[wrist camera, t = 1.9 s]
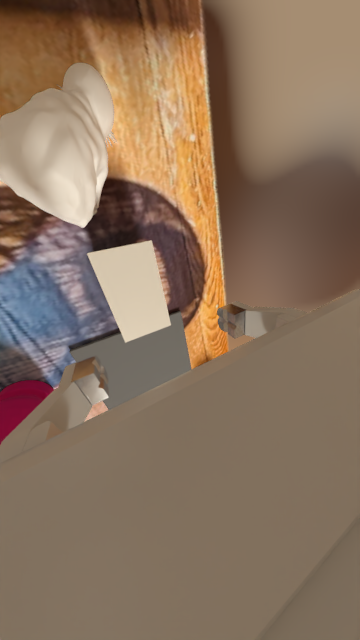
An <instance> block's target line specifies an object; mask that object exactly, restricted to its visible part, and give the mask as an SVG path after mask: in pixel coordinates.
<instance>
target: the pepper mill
mask: <svg viewBox="0 0 360 640" xmlns="http://www.w3.org/2000/svg"><path fill="white" fill-rule="evenodd" d="M52 391H54V390H53V388H52V387H51V386H50V385H49V384H46V383H44V382H41V381H36V380H26V381H19V382H16V383H13V384H11V385H9V386H7V387H6V388H4V389H3V390H2V391H1V392H0V445H1V443H2V441H3V440H4V439H5V438H6V437H7V436H8V435H9V434H10V433H11V432H12V431H13V430H14V429H15V428H16V427H17V426H18V425H19V424H20V423H21V422H22V421H23V420H24V419H25V418H26V417H27V416H28V415H29V414H30V413H31V412H32V411H33V410H34V409H35V408H36V407H37V406H38V405H39V404H40V403H41V402H42V401H43V400H44V399H45V398H46V397H47V396H48V395H49V394H50V393H51V392H52Z"/></svg>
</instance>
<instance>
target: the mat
mask: <svg viewBox="0 0 360 640" xmlns="http://www.w3.org/2000/svg"><path fill="white" fill-rule="evenodd" d="M169 318H170V322H171V325H170V326H168V327H165V328H163V329H160V330H157V331H155V332H152V333H150V334H147V335H144V336H142V337H139V338H136V339H134V340H131V341H129V342H126V343H125V341H124V338H123V336H122V334H121V332H118V333H115V334H113V335H110V336H107V337H104V338H101V339H99V340H96V341H93V342H90V343H88V344H85V345H82V346H79V347H76V348H74V349H71V350H70V353H71V355H72V356H73V358H74V359H75V361H76V362H79V361H82V360H84V359H87V358H90V357H93V356H95V355H97V356H98V357H99V359H100V361H101V366H104V368H105V370H106V372H107V375H108V384H107V386H108V388H109V398H107V399H105V400H103V402H104V403H105V405H106V406H107V408H108V409H109V410H110V409H112V408H114V407H116V406H118V405H120V404H122V403H124V402H126V401H128V400H130V399H132V398H134V397H136V396H139V395H141V394H143V393H145V392H147V391H149V390H151V389H153V388H155V387H157V386H159V385H161V384H163V383H165V382H167V381H169V380H171V379H173V378H175V377H177V376H180V375H182V374H184V373H186V372H188V371H190V370H191V365H190V359H189V354H188V348H187V343H186V338H185V332H184V327H183V321H182V316H181V312H180V311H177V312H174V313H171V314H169Z"/></svg>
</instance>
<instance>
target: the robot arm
mask: <svg viewBox="0 0 360 640" xmlns="http://www.w3.org/2000/svg"><path fill="white" fill-rule="evenodd" d="M217 315H218V316H219V319H218V325H219V327H220V328H221V330H223V331H225V332H228V334H229V335H230V336H232V337H233V338H238V337H240V336H242V335H247V336H251V337H255V339H253V340H251V341H249V342H247V343H245V344H243V345H241V346H239V347H237V348H235V349H233V350H231V351H229V352H227V353H225V354H223V355H220V356H218V357H216V358H214V359H212V360H210V361H208V362H206V363H204V364H202V365H200V366H198V367H196V368H194V369H192V370H190V371H188V372H186V373H184V374H182V375H180V376H177V377H175V378H173V379H171V380H169V381H167V382H165V383H163V384H161V385H159V386H157V387H155V388H153V389H151V390H149V391H147V392H145V393H143V394H141V395H139V396H136V397H134V398H132V399H130V400H128V401H126V402H124V403H122V404H120V405H118V406H116V407H114V408H112V409H110V410H108V411H106V412H104V413H102V414H100V415H98V416H96V417H93V418H91V419H89V420H87V421H85V419H86V417H87V415H88V413H89V412H90V410H91V408H92V405H94V404H96V403H98V402H101V401H103V400H105V399H107V398H109V388H108V386H107V384H108V375H107V372H106V370H105V368H104V366H101V361H100V359H99V357H98V356H97V355H95V356H93V357H90V358H87V359H84V360H82V361H79V362H76V363H73V364H71V365H68V366H66V367H65V370H64V372H63V375H62V378H61V381H60V384H59V387H58V388H57V389H55V390H54V391H52V392H51V393H50V394H49V395H48V396H47V397H46V398H45V399H44V400H43V401H42V402H41V403H40V404H39V405H38V406H37V407H36V408H35V409H34V410H33V411H32V412H31V413H30V414H29V415H28V416H27V417H26V418H25V419H24V420H23V421H22V422H21V423H20V424H19V425H18V426H17V427H16V428H15V429H14V430H13V431H12V432H11V433H10V434H9V435H8V436H7V437H6V438H5V439H4V440H3V441H2V443H1V445H0V640H360V289H357V290H354V291H352V292H349V293H347V294H345V295H343V296H341V297H339V298H337V299H335V300H333V301H331V302H329V303H327V304H325V305H323V306H321V307H319V308H317V309H315V310H313V311H311V312H309V313H307V312H304V311H301V310H297V309H294V308H274V307H251V306H248V305H245V304H243V303H240V302H233V303H231V304H228V305H226V306H224V307H221V308H219V309H218V310H217ZM84 421H85V422H84Z"/></svg>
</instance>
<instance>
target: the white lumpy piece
mask: <svg viewBox="0 0 360 640" xmlns="http://www.w3.org/2000/svg"><path fill="white" fill-rule="evenodd" d="M57 86H59V85H57ZM59 87H60V86H59ZM60 88H61V89H62V90H57V89H54V88H49V89H47V90H45V91H42V92H39V93H36V94H35V95H33V96H32V97H31V99H30V101H28V102H27V103H26V104H25V105H24V106H22V107H21V108H19V109H17V110H16V111H14V112H11V113H7V114H5V115H3V116H2V117H1V118H0V181H2V182H4V183H5V184H7V185H8V186H9V187H10V188H12V189H13V191H14V192H15V193H16V194H17V195H19V196H21V197H23V198H25V199H27V200H28V201H30V202H32V203H33V204H34V205H36V206H37V207H39V208H40V209H42V210H44V211H46V212H48V213H50V214H52V215H54V216H56V217H58V218H60V219H62V220H64V221H66V222H69V223H73V224H75V225H78V226H79V227H81V228H84V227H85V226H86V225H87V224H88V222H89V221H90V220H91V219H92V217H93V215H95V214H96V213H97V208H98V207H99V202H100V196H101V192H102V188H103V185H104V182H105V180H106V177H107V174H108V153H107V149H106V144H107V139H108V141H109V143H110V145H111V146H112V144H111V142H110V140H109V138H108V136H109V137H110V138H111V139H112V137H113V138H114V136H113V135H114V134H113V133H112V132H111V130H112V127H113V123H114V105H113V101H112V97H111V94H110V91H109V89H108V86H107V84H106V83H105V81H104V79H103V78H102V76H101V75H100V73H99V72H98V71H97V70H96V69H95V68H94V67H92V66H91V65H89V64H86V63H75V64H73V65H71V66H70V67H69V68H68V70H67V71H66V73H65V76H64V80H63V87H60ZM110 132H111V133H112V134H113V135H112V134H111V133H110ZM111 136H112V137H111ZM106 138H107V139H106ZM114 139H115V138H114ZM112 140H113V139H112ZM115 140H116V139H115ZM105 141H106V143H105ZM113 141H114V140H113ZM116 142H117V141H116ZM114 143H115V142H114ZM107 146H108V144H107ZM112 148H113V147H112Z"/></svg>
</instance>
